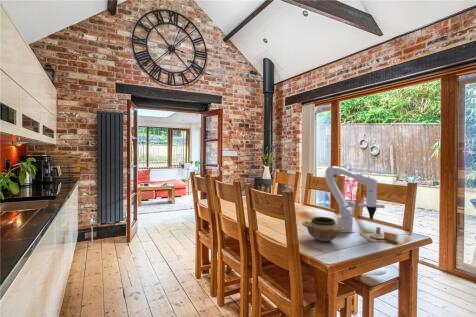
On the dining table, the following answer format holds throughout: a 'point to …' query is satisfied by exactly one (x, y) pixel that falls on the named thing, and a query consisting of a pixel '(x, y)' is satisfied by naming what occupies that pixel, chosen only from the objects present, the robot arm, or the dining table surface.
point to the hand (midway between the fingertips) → (371, 218)
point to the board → (370, 239)
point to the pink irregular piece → (386, 236)
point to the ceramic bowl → (323, 229)
